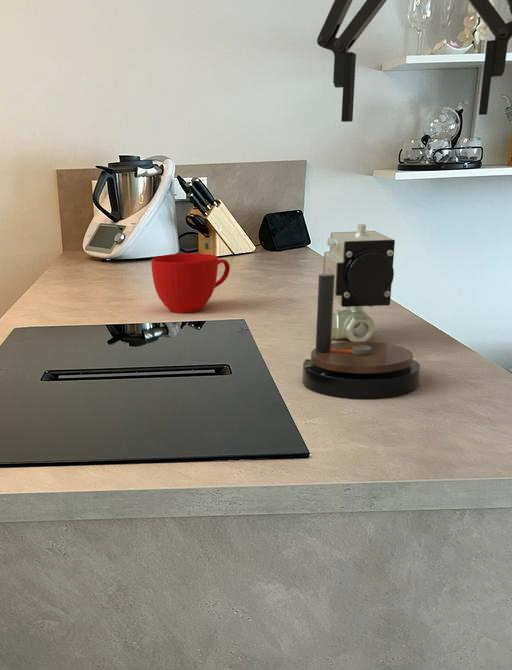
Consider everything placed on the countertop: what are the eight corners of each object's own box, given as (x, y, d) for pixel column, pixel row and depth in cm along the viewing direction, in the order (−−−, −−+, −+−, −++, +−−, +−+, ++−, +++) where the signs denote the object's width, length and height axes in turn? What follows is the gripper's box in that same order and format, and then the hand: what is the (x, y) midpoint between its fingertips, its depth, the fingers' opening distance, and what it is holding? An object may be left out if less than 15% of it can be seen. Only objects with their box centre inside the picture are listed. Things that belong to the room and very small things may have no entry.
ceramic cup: (247, 307, 155) (247, 255, 152) (174, 319, 148) (173, 264, 144) (211, 298, 166) (210, 249, 162) (141, 309, 158) (139, 258, 154)
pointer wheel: (417, 351, 107) (424, 268, 102) (406, 376, 96) (414, 285, 91) (321, 346, 112) (324, 267, 107) (301, 370, 101) (304, 282, 96)
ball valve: (317, 327, 136) (321, 220, 129) (366, 326, 136) (373, 218, 129) (333, 352, 120) (339, 231, 113) (389, 351, 119) (399, 229, 112)
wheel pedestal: (422, 371, 108) (424, 352, 107) (412, 403, 96) (414, 381, 95) (313, 364, 114) (314, 346, 113) (290, 394, 101) (291, 373, 100)
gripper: (292, -120, 75) (287, 124, 83) (585, -168, 66) (546, 110, 74) (308, -100, 81) (301, 124, 90) (578, -141, 73) (542, 112, 81)
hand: (412, 118), depth 82 cm, fingers open, 13 cm apart
